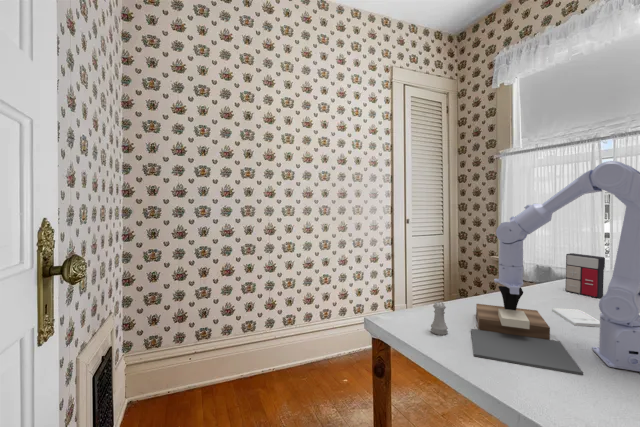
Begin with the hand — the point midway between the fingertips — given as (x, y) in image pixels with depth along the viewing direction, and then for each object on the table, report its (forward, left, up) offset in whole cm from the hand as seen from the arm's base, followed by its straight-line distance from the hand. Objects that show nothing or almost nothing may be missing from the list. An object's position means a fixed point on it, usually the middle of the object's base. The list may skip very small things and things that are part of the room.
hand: (510, 313), depth 88 cm
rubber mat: (-14, 0, -4) cm, 15 cm away
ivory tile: (-5, 0, -1) cm, 5 cm away
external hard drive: (+16, -20, -5) cm, 26 cm away
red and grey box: (+49, -31, -4) cm, 58 cm away
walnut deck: (+1, 0, -4) cm, 4 cm away
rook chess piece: (-11, +18, -4) cm, 21 cm away
